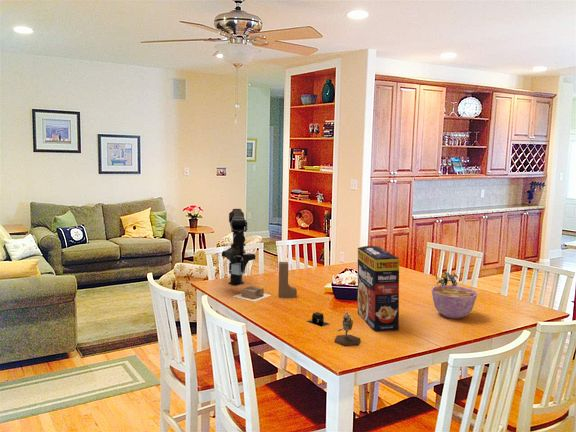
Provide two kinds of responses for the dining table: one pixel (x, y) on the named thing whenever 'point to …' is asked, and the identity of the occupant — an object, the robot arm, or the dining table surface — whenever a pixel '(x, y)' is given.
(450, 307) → the bowl of food
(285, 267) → the wooden block
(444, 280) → the plant sprig
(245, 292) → the walnut base
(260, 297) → the felt mat
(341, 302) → the dining table surface
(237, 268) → the gray cube
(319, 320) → the black block
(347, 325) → the robot figurine
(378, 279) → the cereal box
